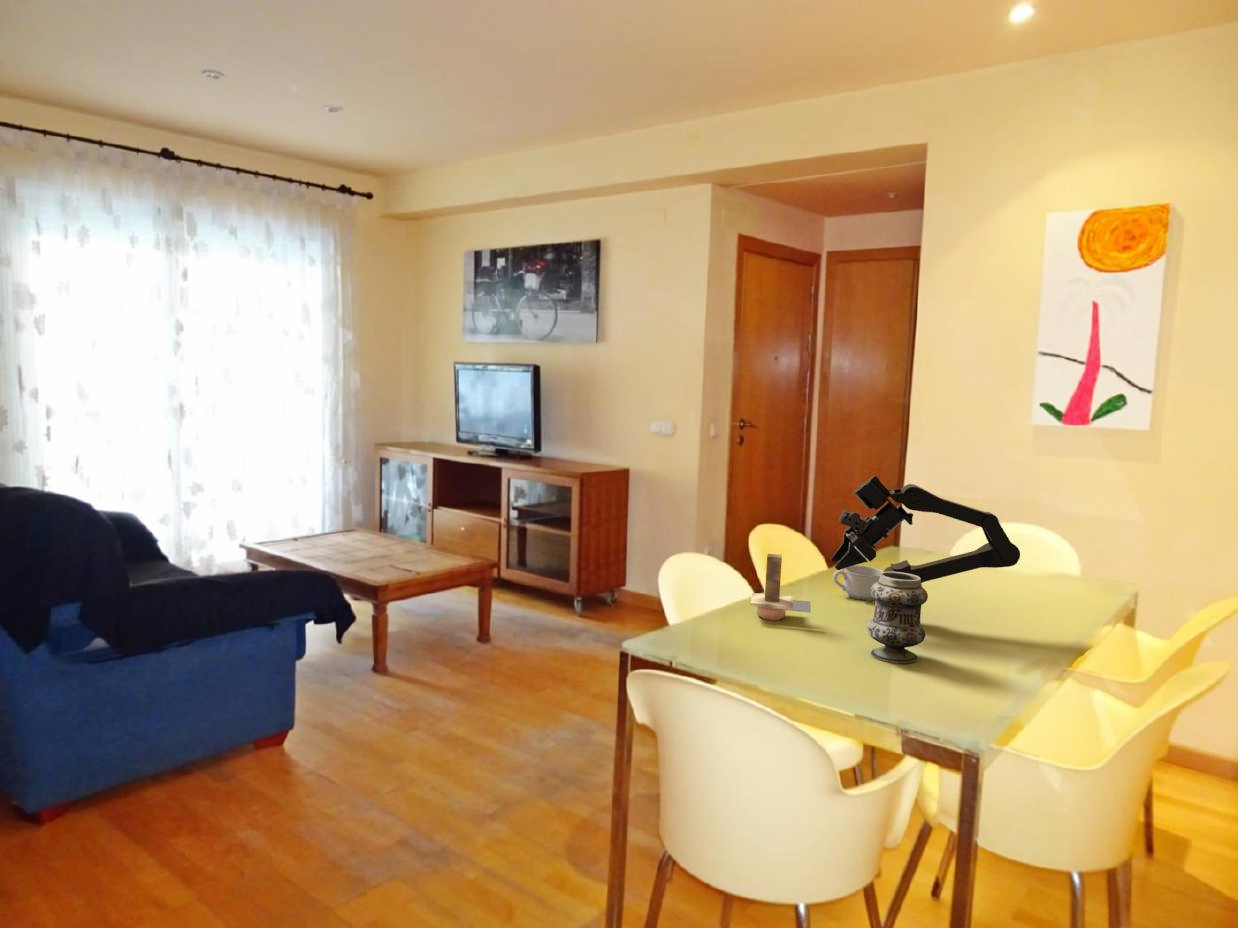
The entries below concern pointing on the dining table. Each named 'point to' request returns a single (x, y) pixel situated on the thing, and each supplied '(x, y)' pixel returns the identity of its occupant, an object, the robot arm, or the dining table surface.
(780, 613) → the pink rounded disc
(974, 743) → the dining table surface
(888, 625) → the apothecary jar
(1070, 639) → the dining table surface
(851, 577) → the teacup
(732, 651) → the dining table surface
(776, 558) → the brown wooden post
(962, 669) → the dining table surface
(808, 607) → the rubber mat
